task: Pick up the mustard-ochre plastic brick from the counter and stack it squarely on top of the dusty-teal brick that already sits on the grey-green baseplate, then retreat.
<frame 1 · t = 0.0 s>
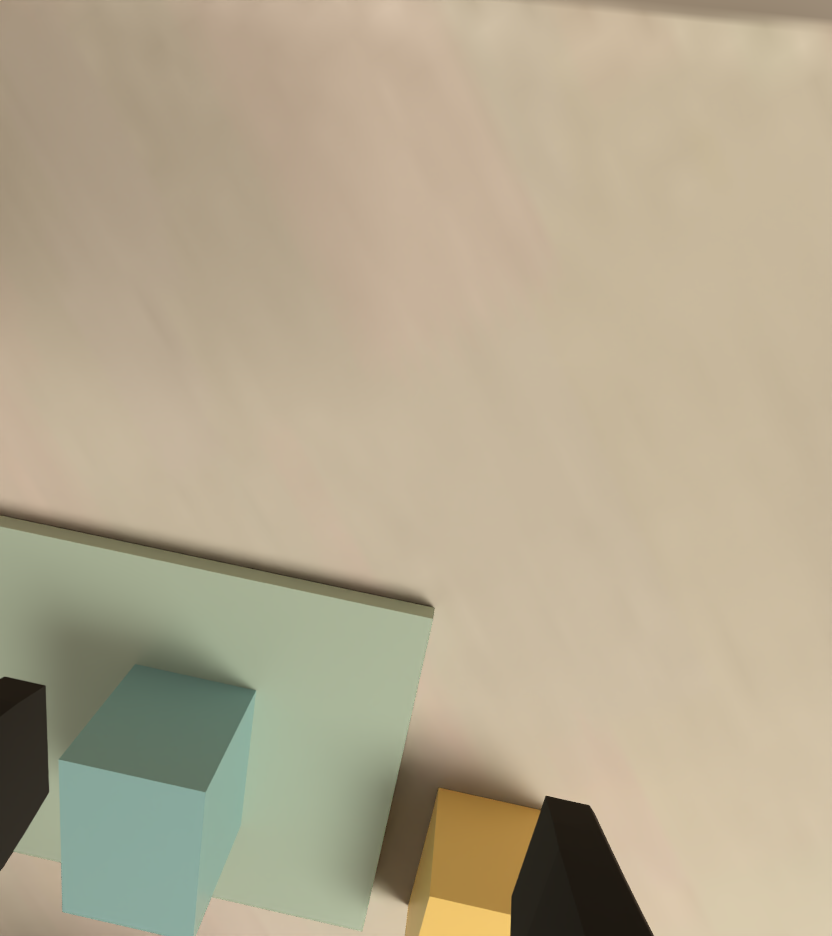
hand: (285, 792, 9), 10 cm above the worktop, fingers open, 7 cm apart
brick ochre: (477, 858, 23), on the worktop
brick teal: (190, 748, 22), point 1 cm above the worktop, touching baseplate
baseplate: (197, 735, 22), on the worktop
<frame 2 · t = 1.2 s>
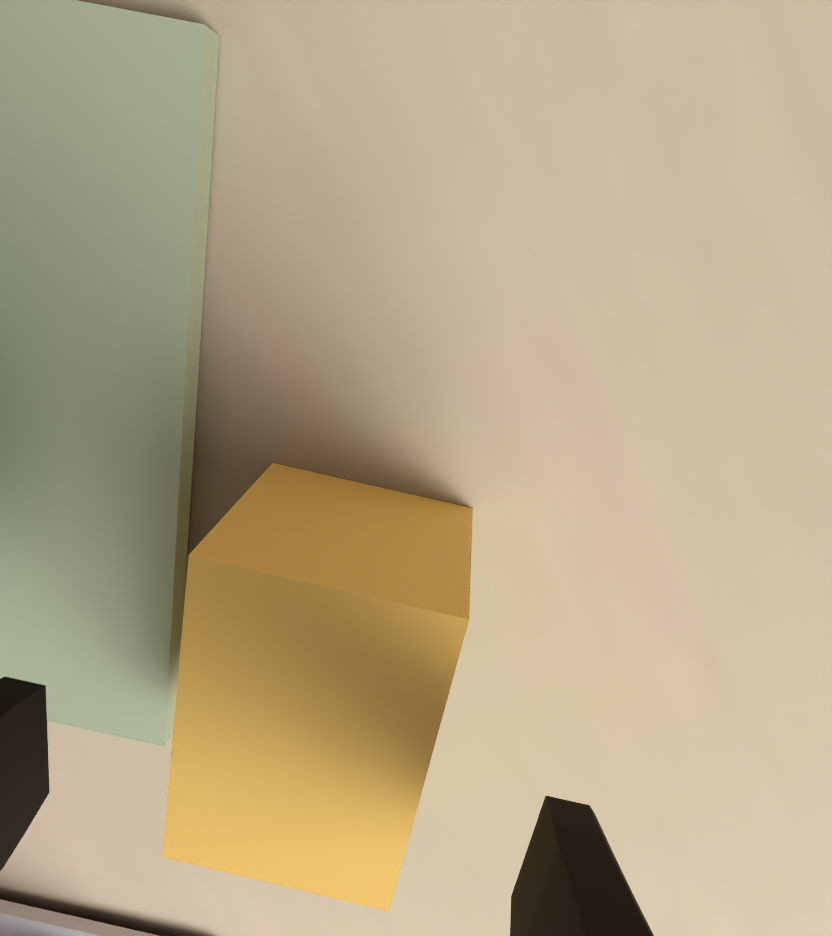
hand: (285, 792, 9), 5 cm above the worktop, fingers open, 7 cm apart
brick ochre: (348, 610, 14), on the worktop
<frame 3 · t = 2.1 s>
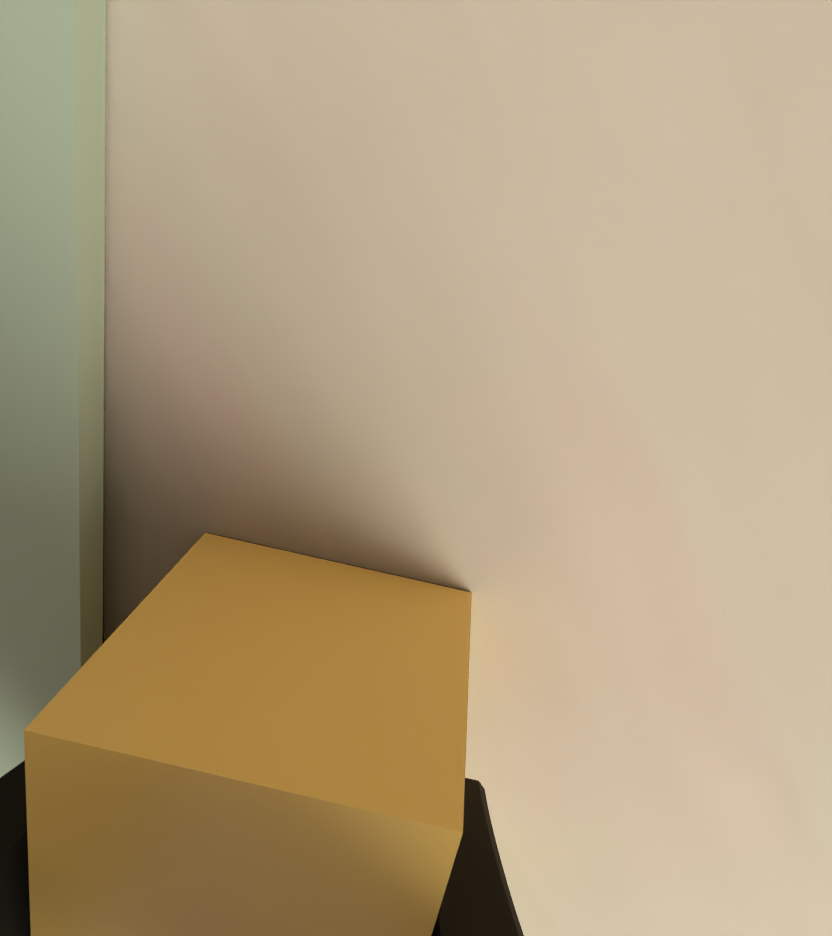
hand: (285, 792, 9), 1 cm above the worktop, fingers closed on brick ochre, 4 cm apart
brick ochre: (310, 721, 11), on the worktop, touching gripper
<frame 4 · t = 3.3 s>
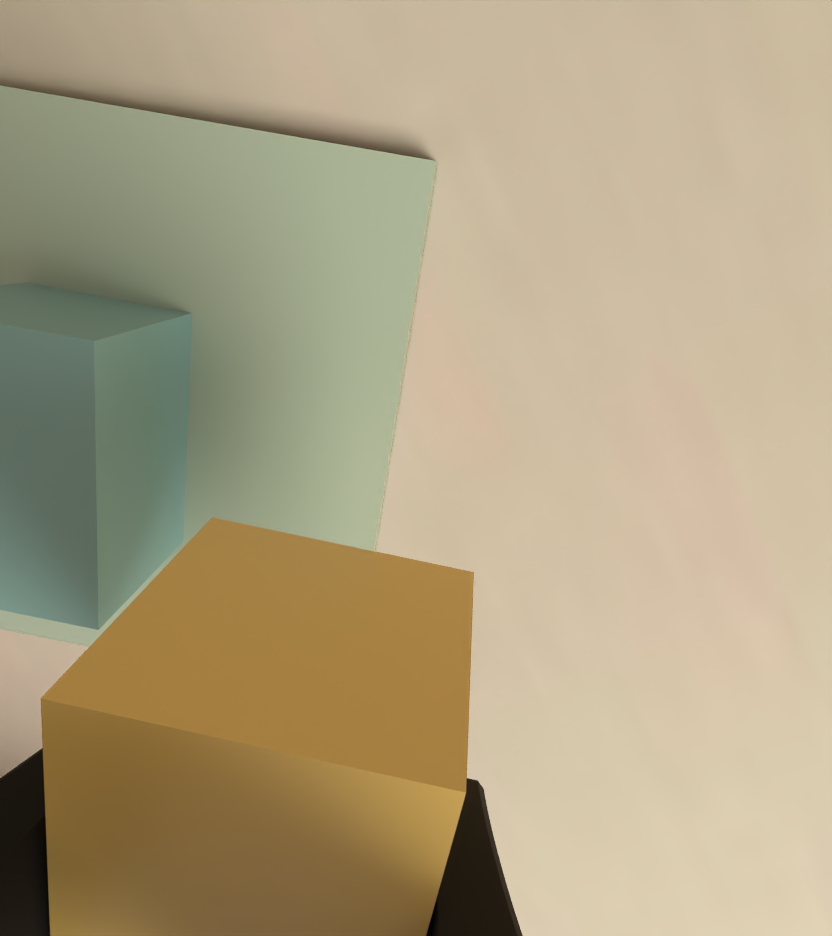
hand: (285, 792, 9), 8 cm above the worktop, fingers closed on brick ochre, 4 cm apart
brick ochre: (317, 702, 11), point 7 cm above the worktop, touching gripper
brick teal: (109, 420, 16), point 1 cm above the worktop, touching baseplate
baseplate: (121, 413, 17), on the worktop
when the fingers open (7 cm above the worktop, at t = 4.5 s): brick ochre stays where it is, resting on brick teal.
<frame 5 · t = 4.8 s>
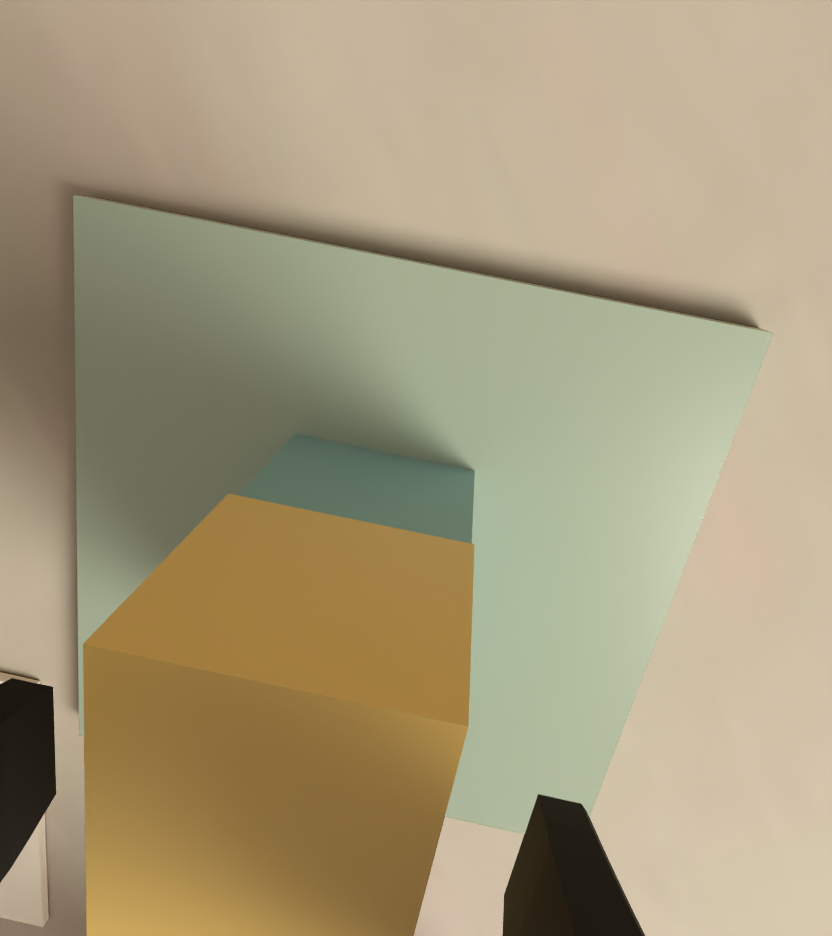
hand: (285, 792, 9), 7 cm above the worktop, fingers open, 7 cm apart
brick ochre: (326, 670, 11), point 5 cm above the worktop, touching brick teal
brick teal: (364, 570, 15), point 1 cm above the worktop, touching baseplate, brick ochre
baseplate: (368, 558, 16), on the worktop
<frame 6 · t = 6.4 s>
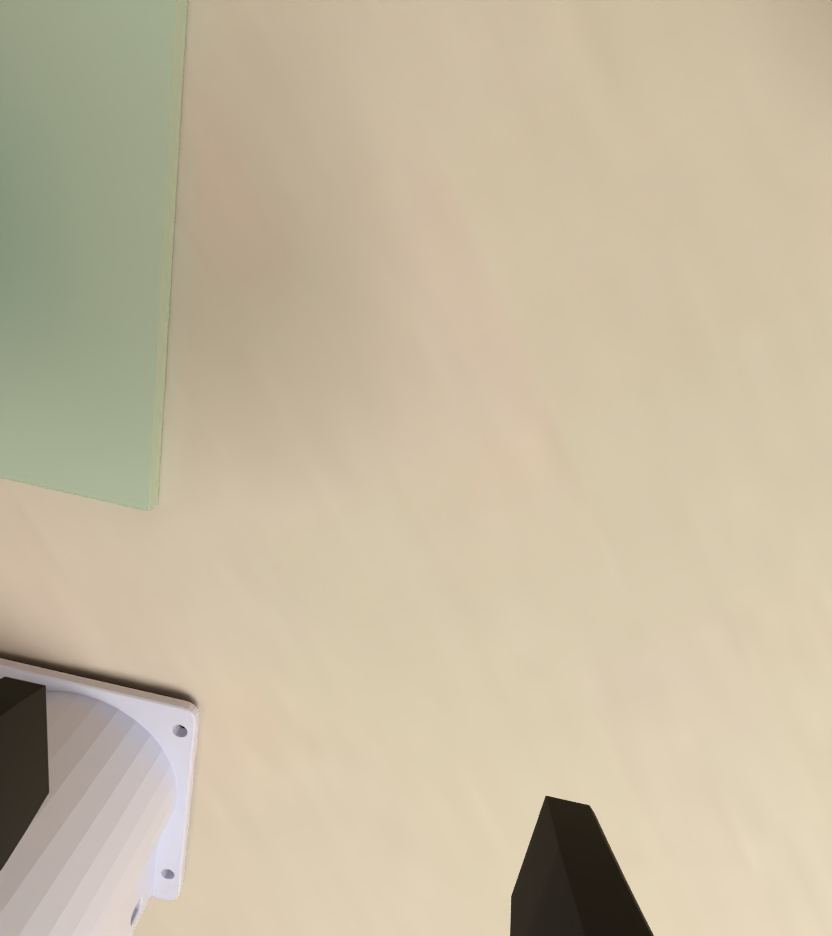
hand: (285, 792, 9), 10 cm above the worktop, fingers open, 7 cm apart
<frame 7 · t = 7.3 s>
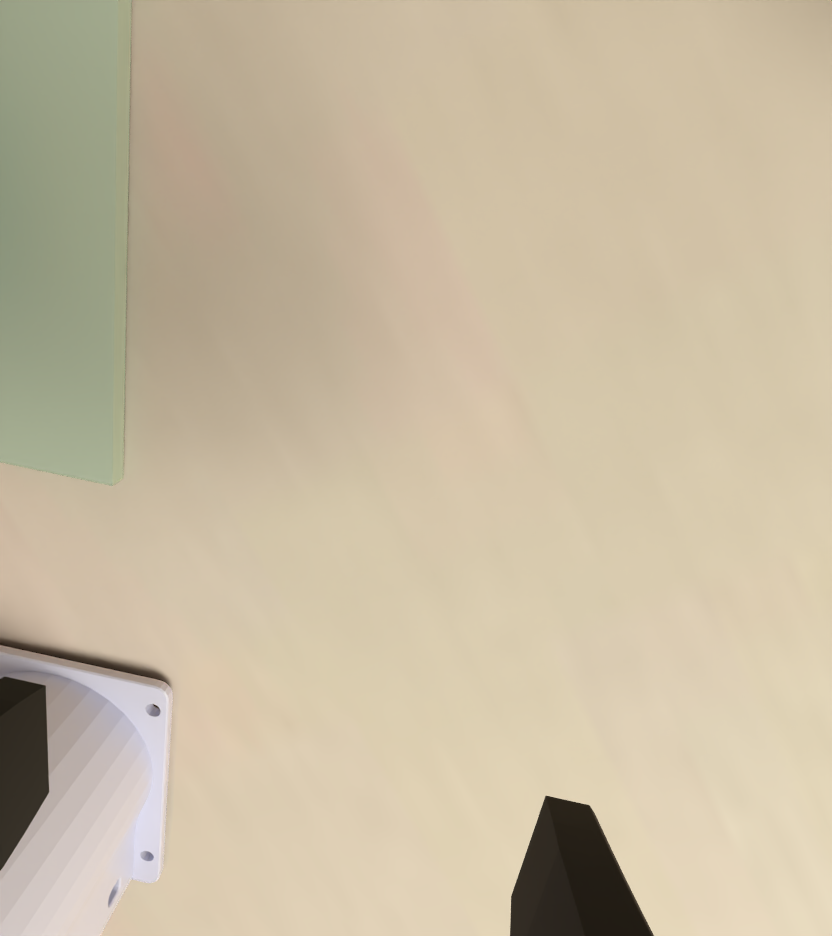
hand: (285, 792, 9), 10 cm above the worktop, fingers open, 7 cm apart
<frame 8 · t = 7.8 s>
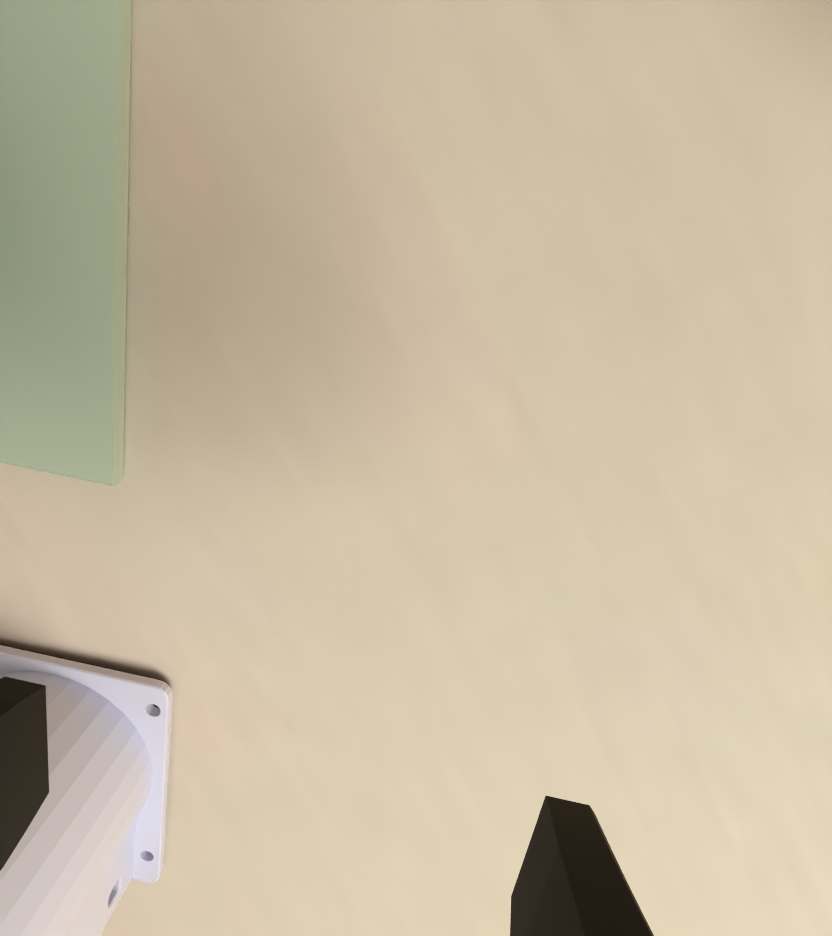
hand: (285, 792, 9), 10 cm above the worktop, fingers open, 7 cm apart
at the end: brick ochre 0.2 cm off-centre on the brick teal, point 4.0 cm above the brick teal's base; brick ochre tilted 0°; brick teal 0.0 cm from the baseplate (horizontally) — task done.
